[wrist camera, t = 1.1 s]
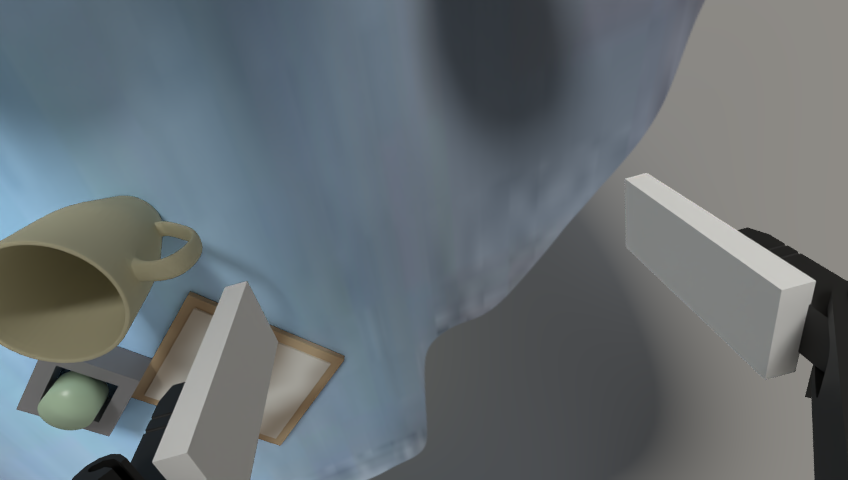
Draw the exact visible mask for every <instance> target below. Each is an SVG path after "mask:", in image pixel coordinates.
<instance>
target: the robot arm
mask: <svg viewBox="0 0 848 480" xmlns="http://www.w3.org/2000/svg"><path fill="white" fill-rule="evenodd" d="M625 218H626V248H627V249H629V251H631V252H632V253H633V254H634V255H635V256H636V257H637V258H638V259H639V260H640V261H641V262H642V263H643V264H644V265H645V266H646V267H647V268H648V269H649V270H650V271H651V272H653V273H654V274H655V275H656V276H657V277H658V278H659V279H660V280H661V281H662V282H663V283H664V284H665V285H666V286H667V287H668V288H669V289H670V290H671V291H672V292H673V293H675V294H676V295H677V296H678V297H679V298H680V299H681V300H682V301H683V302H684V303H685V304H686V305H687V306H688V307H689V308H690V309H691V310H692V311H693V312H694V313H696V315H697V316H699V317H700V318H701V319H702V320H703V321H704V322H705V323H706V324H707V325H708V326H709V327H710V328H711V329H712V330H713V331H714V332H715V333H716V334H717V335H718V336H720V337H721V338H722V339H723V340H724V341H725V342H726V343H727V344H728V345H729V346H730V347H731V348H732V349H733V350H734V351H735V352H736V353H737V354H738V355H739V356H740V357H741V358H743V359H744V360H745V361H746V362H747V363H748V364H749V365H750V366H751V367H752V368H753V369H754V370H755V371H756V372H757V373H758V374H759V375H760V376H761V377H762V378H763V379H765V380H767V379H770V378H774V377H778V376H781V375H785V374H789V373H792V372H795V371H796V366H797V362H798V357H799V353H800V354H802V355H803V356H804V357H805V358H806V359H808V360H809V361H810V362H811V363H813V367H812V371H811V375H810V379H809V383H808V387H807V391H806V395H805V397H808V398H811V397H812V422H813V447H814V448H813V449H814V473H815V474H814V475H815V480H848V281H846V280H844V279H842V278H841V277H839V276H838V275H836V274H834V273H833V272H831V271H829V270H828V269H826V268H824V267H822V266H821V265H819V264H818V263H816V262H814V261H813V260H811V259H809V258H808V257H806V256H804V255H803V254H798V252H797V251H796V250H794V249H793V248H791V247H789V246H785V244H784V243H783V242H781V241H779V240H778V239H776V238H774V237H772V236H771V235H769V234H766V233H763V232H760V231H756V230H753V229H750V228H744V229H741V230H735V229H734V228H732V227H731V226H729V225H728V224H726V223H725V222H723V221H721V220H720V219H718V218H717V217H715V216H714V215H712V214H711V213H709V212H707V211H706V210H704V209H702V208H701V207H700V206H698V205H696V204H694V203H693V202H692V201H690V200H688V199H687V198H685V197H684V196H682V195H680V194H679V193H678V192H676V191H674V190H673V189H671V188H669V187H668V186H666V185H665V184H663V183H662V182H660V181H659V180H657V179H656V178H654V177H652V176H651V175H649V174H648V173H644V174H641V175H637V176H633V177H630V178H626V179H625ZM277 345H278V340H277V338H276V336H275V334H274V332H273V331H272V329H271V327H270V325H269V323H268V321H267V319H266V317H265V315H264V313H263V311H262V309H261V307H260V305H259V303H258V301H257V299H256V297H255V295H254V293H253V291H252V289H251V287H250V285H249V284H248V282H247V281H245V282H242V283H238V284H234V285H231V286H227V287H225V288H224V291H223V293H222V295H221V298H220V300H219V303H218V305H217V307H216V310H215V312H214V315H213V317H212V319H211V322H210V324H209V327H208V329H207V331H206V334H205V336H204V339H203V341H202V343H201V346H200V348H199V351H198V353H197V355H196V358H195V360H194V363H193V365H192V367H191V370H190V372H189V375H188V377H187V379H186V382H182V383H179V384H175V385H172V386H171V388H170V389H169V390H168V391H167V392H166V394H165V395H164V396H163V397H162V398H161V399H160V401H159V402H158V404H157V407H156V409H155V411H154V413H153V415H152V417H151V418H152V420H151V421H150V422H149V424H148V426H147V428H146V430H145V431H146V434H144V435H143V437H142V439H141V441H140V443H139V446H138V448H137V450H136V452H135V454H134V456H133V459H132V461H131V463H130V462H129V461H128V460H127V458H125V457H124V456H122V455H121V454H110V455H107V456H104V457H102V458H99V459H97V460H95V461H94V462H92V463H91V464H89V465H87V466H86V467H85V468H83V469H82V470H81V471H80V472H79V473H78V474H77V475H75V476H74V477H73V479H72V480H250V477H251V472H252V467H253V463H254V458H255V453H256V448H257V443H258V438H259V433H260V428H261V423H262V419H263V414H264V409H265V404H266V399H267V394H268V389H269V384H270V379H271V375H272V370H273V365H274V360H275V355H276V350H277Z"/></svg>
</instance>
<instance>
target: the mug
mask: <svg viewBox="0 0 848 480" xmlns="http://www.w3.org/2000/svg"><path fill="white" fill-rule="evenodd" d="M163 236H172V237H176V238H179V239H183V240H186V241H188V243H187V244H186V245H185V246H184V247H183V248H181V249H180V250H178V251H177V252H176V253H174V254H172V255H170V256H168V257H166V258H163V259H160V258H161V247H162V237H163ZM201 253H202V242H201V240H200V237H199V236H198V234H197V233H196V231H194V230H193V229H192V228H190V227H187V226H184V225H181V224H177V223H172V222H166V221H162V220H161V218H160V216H159V214H158V212H157V211H156V210H155V209H154V208H153V207H152V206H151V205H150V204H148V203H147V202H145V201H144V200H141V199H139V198H136V197H132V196H115V197H110V198H104V199H99V200H93V201H87V202H82V203H78V204H74V205H70V206H67V207H64V208H62V209H59V210H57V211H54V212H52V213H50V214H48V215H46V216H44V217H42V218H40V219H38V220H36V221H35V222H33V223H31V224H29V225H28V226H26V227H24V228H22V229H21V230H19V231H17V232H15V233H14V234H12V235H10V236H8V237H7V238H5V239H3V240H1V241H0V344H1V345H2V346H4V347H6V348H8V349H10V350H12V351H14V352H16V353H19V354H21V355H24V356H27V357H30V358H33V359H37V360H42V361H47V362H56V363H75V362H83V361H88V360H92V359H95V358H98V357H100V356H102V355H104V354H106V353H108V352H110V351H111V350H113V349H114V348H115V347H116V346H117V345H118V344H119V343H120V342H121V341H122V340H123V338H124V337H125V335H126V334H127V332H128V330H129V328H130V326H131V324H132V323H133V321H134V319H135V317H136V315H137V313H138V312H139V310H140V308H141V306H142V304H143V302H144V301H145V299H146V297H147V295H148V293H149V291H150V289H151V287H152V285H153V283H154V281H162V280H167V279H172V278H175V277H177V276H179V275H181V274H183V273H185V272H186V271H188V270H189V269H190V268H191V267H193V265H194V264H195V263H196V262H197V261H198V259H199V257H200V255H201Z"/></svg>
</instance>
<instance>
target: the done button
mask: <svg viewBox="0 0 848 480" xmlns="http://www.w3.org/2000/svg"><path fill="white" fill-rule="evenodd" d="M108 395H109V387H108V385H107V383H106V382H104V381H101V380H98V379H95V378H92V377H89V376H86V375H83V374H80V373H77V372H74V371H70V372H67V373H64V374H62V375H61V376H60V377H59V378H58V379H57V380H56V382H55V383H54V384H53V386H52V387H51V388H50V389H49V391H48V392H47V393H46V395H45V396H44V397H43V398H42V400H41V401H40V402H39V404H38V413H39V415H40V417H41V418H42V419H43V420H44V421H45V422H46V423H48V424H49V425H51V426H53V427H56V428H59V429H64V430H78V429H82V428H85V427H87V426H89V425H90V424H91V423H92V422H93V420H94V419H95V417H96V415H97V414H98V412H99V410H100V409H101V407H102V406H103V404H104V402H105V401H106V399H107V397H108Z"/></svg>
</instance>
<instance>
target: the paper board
mask: <svg viewBox="0 0 848 480" xmlns="http://www.w3.org/2000/svg"><path fill="white" fill-rule="evenodd" d="M217 305H218V303H217V302H215V301H212V300H210V299H207V298H205V297H203V296H200V295H198V294H195V293H193V292H191V291H190V292H189V294H188V296H187V298H186V299H185V301H184V303H183V305H182V307H181V308H180V310H179V312H178V314H177V316H176V317H175V319H174V321H173V323H172V325H171V326H170V328H169V330H168V332H167V334H166V335H165V337H164V339H163V341H162V343H161V344H160V346H159V348H158V350H157V352H156V353H155V355H154V357H153V359H152V361H151V362H150V364H149V366H148V368H147V370H146V371H145V373H144V375H143V377H142V378H141V380H140V382H139V384H138V386H137V387H136V389H135V391H134V393H133V395H132V396H131V398H135V399H138V400H141V401H144V402H147V403H150V404H153V405H156V406H157V404H158V402H159V401H160V399H161V398H162V397H163V396H164V395H165V394H166V392H167V391H168V390H169V389H170V388H171V386H172V385H175V384H179V383H182V382H186V379H187V377H188V375H189V372H190V370H191V367H192V365H193V363H194V360H195V358H196V355H197V353H198V351H199V348H200V346H201V343H202V341H203V339H204V336H205V334H206V331H207V329H208V327H209V324H210V322H211V319H212V317H213V315H214V312H215V310H216V307H217ZM270 327H271V329H272V331H273V332H274V334H275V336H276V338H277V340H278V345H277V350H276V355H275V360H274V365H273V370H272V375H271V379H270V384H269V389H268V394H267V399H266V404H265V409H264V414H263V419H262V423H261V428H260V433H259V438H258V439H261V440H264V441H267V442H270V443H273V444H276V445H281V444H282V443H283V441H284V440H285V439H286V437H287V436H288V435H289V433H290V432H291V431H292V429H293V428H294V427H295V425H296V424H297V423H298V421H299V420H300V419H301V417H302V416H303V415H304V413H305V412H306V411H307V409H308V408H309V407H310V405H311V404H312V403H313V401H314V400H315V399H316V397H317V396H318V394H319V393H320V392H321V390H322V389H323V388H324V386H325V385H326V384H327V382H328V381H329V380H330V378H331V377H332V376H333V374H334V373H335V372H336V370H337V369H338V368H339V366H340V365H341V364H342V362H343V361H344V356H343V355H341V354H339V353H336V352H334V351H331V350H329V349H327V348H324V347H322V346H320V345H317V344H315V343H312V342H310V341H308V340H305V339H303V338H300V337H298V336H296V335H293V334H291V333H289V332H286V331H284V330H281V329H279V328H277V327H274V326H272V325H270Z"/></svg>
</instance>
